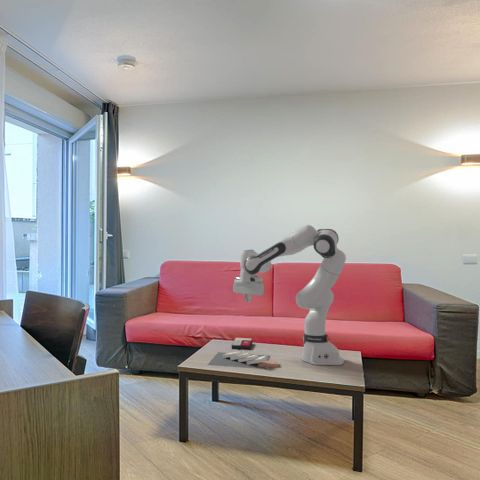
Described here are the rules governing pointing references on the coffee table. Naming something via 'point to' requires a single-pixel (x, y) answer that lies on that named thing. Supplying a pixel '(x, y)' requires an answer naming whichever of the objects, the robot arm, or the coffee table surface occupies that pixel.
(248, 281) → the robot arm
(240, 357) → the domino
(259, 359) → the domino
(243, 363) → the domino mat
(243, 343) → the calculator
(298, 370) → the coffee table surface
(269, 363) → the domino
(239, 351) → the domino
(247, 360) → the domino
